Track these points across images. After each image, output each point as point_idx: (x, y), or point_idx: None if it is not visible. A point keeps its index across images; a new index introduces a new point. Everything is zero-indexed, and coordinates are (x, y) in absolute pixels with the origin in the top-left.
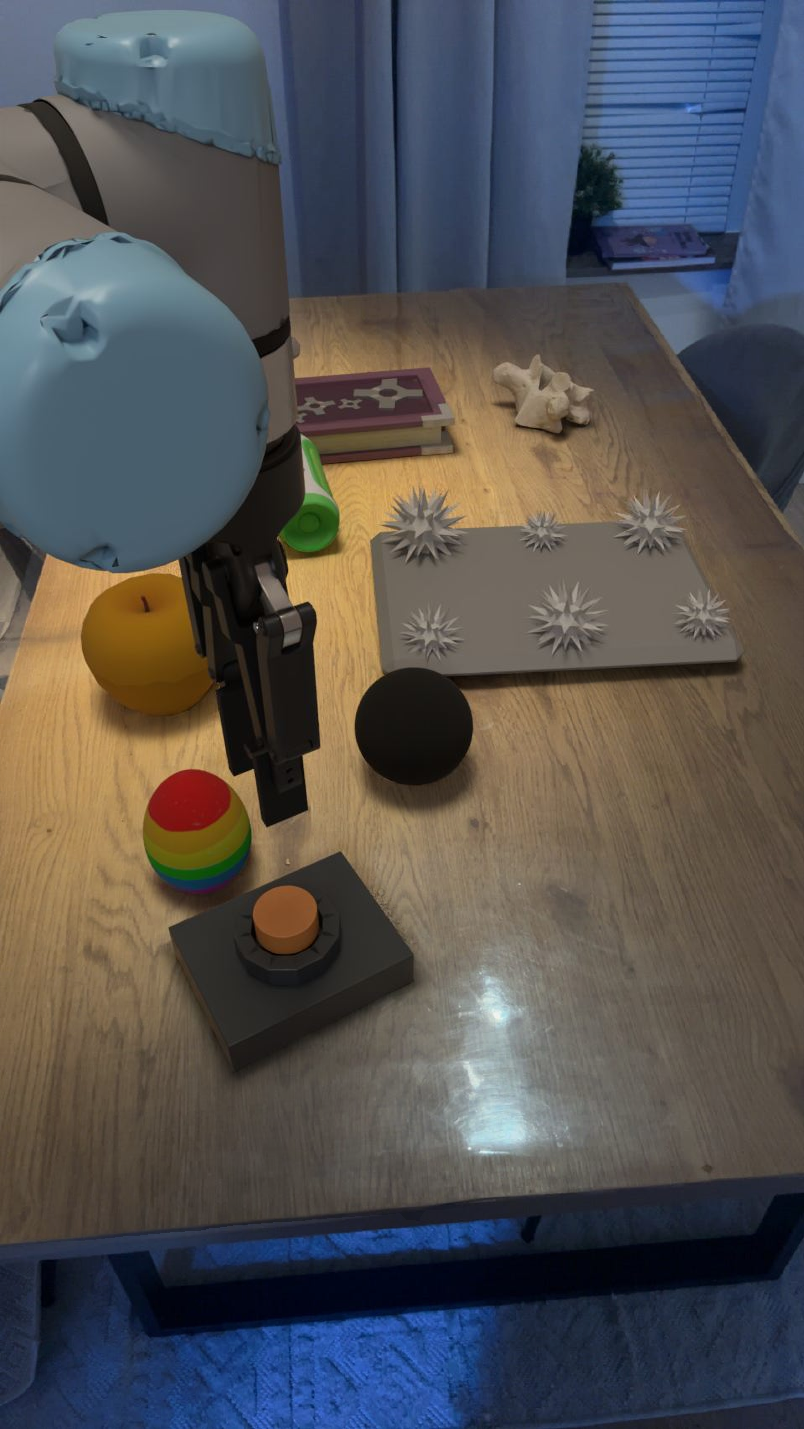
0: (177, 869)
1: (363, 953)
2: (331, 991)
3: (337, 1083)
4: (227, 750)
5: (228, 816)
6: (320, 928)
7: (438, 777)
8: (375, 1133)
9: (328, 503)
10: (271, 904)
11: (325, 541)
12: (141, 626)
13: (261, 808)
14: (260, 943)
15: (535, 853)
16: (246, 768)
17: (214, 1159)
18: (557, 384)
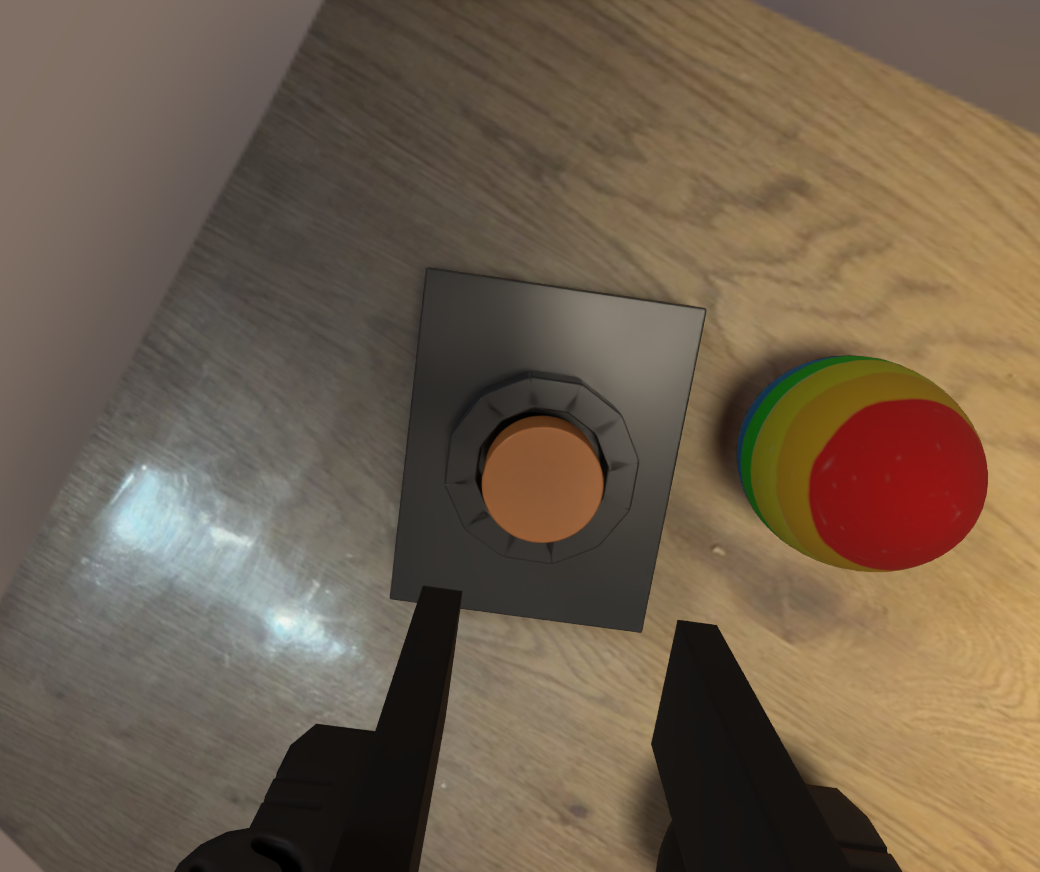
0: (795, 384)
1: (441, 540)
2: (411, 459)
3: (328, 382)
4: (726, 680)
5: (806, 526)
6: None
7: (661, 844)
8: (232, 380)
9: None
10: (570, 474)
11: None
12: None
13: (438, 620)
14: (542, 416)
15: (472, 837)
16: (671, 669)
17: (332, 169)
18: None
